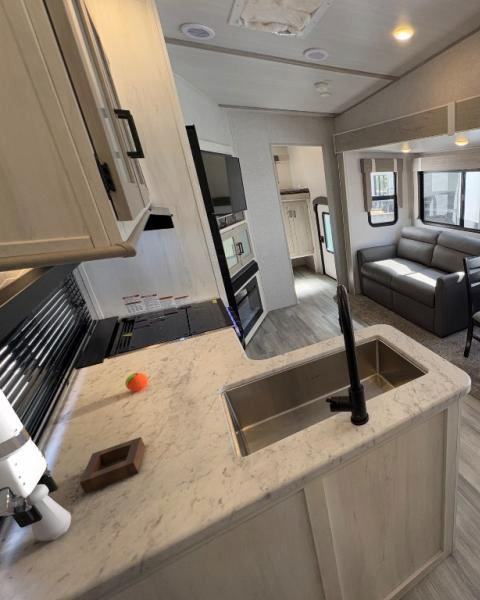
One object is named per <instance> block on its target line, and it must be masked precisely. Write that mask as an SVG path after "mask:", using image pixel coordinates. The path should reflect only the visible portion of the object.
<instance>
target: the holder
mask: <svg viewBox="0 0 480 600" xmlns="http://www.w3.org/2000/svg"><path fill="white" fill-rule="evenodd" d="M145 450H146V445H145V443H144V441H143V438H142V436H139V437H136V438H133V439H131V440H128V441H125V442H122V443H119V444H116V445H113V446H110V447H107V448H104V449H101V450H98V451H96V452H93V453H92V454H91V456H90V458H89V460H88V463H87V464H86V467H85V470H84V471H83V474H82V476H81V478H80V480H79V485H80V487H81V489H82V490H83V492H84V493H85V495H87V494H88V493H92V492H94V491H96V490H99V489H102V488H104V487H106V486H110V485H112V484H115V483H117V482H120V481H123V480H125V479H128V478H130V477H133V476H136V475H137V474H140V469H141V465H142V462H143V457H144V454H145ZM124 459H125V460H124ZM121 460H124V461H122V462H120V461H121ZM118 461H119V463H116V462H118ZM112 463H116V464H113V465H110V464H112ZM108 465H110V466H108ZM106 466H108V467H106Z"/></svg>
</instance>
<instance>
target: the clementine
mask: <svg viewBox="0 0 480 600" xmlns="http://www.w3.org/2000/svg"><path fill="white" fill-rule="evenodd" d="M124 384H125V385H124V386H125V387H126V388H127V390H129V391H131V392H138V391H141V390H144V389H145V388H146V387H147V385H148V384H149V377H148V376H147V375H146V374H144V373H143V372H136V373H132V374H130V375H128V377H127V378H126V379H125V382H124Z"/></svg>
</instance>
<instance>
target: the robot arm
mask: <svg viewBox="0 0 480 600" xmlns="http://www.w3.org/2000/svg"><path fill="white" fill-rule="evenodd" d="M51 474H52V473H51V470H50V469H48V462H47V459H46V454H45V453H43V452H42V451H41V450H40V449H39V448H38V446H37V445H36V444H35V442H34V441H33V440H32V437H31V436H30V434H29V432H28V430H26V428H25V426H24V424H23V423H22V422H21V420H20V418H19V416H18V414H17V413H16V411H15V410H14V408H13V407H12V404H11V403H10V401H9V400H8V398H7V396H6V394H4V392H3V391H2V389H1V388H0V517H5V518H7V517H8V518H13V520H14V521H15V523H16V524H17V526H18V527H19V528H20V529H22V528H25V527H28V526H31V524H33V523H36V522H38V521H40V520H42V518H43V516H42V515H41V513H40V512H39V510H38V509H37V507H36V506H35V505H32V506H31V501H30V495H29V494H30V493H31V492H32V491H33V489H34V488H35V486H36V485H40V484H42V485H45V486H47V488H48V490H49V492H48V494H47V495H49V494H52V493H54V492H57V490H58V489H59V486H58V485H57V483H56V481H55V480H54V478H53V476H52V475H51ZM20 495H21V496H20ZM13 496H17V497H14V498H13ZM21 499H22V500H23V505H21V506H20V505H17V506H16V503H17V502H18V500H21ZM15 502H16V503H15Z"/></svg>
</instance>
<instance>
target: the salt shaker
mask: <svg viewBox="0 0 480 600" xmlns="http://www.w3.org/2000/svg"><path fill="white" fill-rule="evenodd" d="M48 492H49V490H48V488H47V486H45V485H42V484H40V485H36V486H35V488H34V489H33V491H32V492H31V493H30V494H29V495H30V501H31V506H32V505H35V506H36V507H37V509H38V510H39V512H40V513H41V515H42V516H43V518H42V520H40V521H38V522H36V523H33V524H31V525H30V526H31V531H32V534H33V537H34V539H35V540H37V541H41V542H50V541H51V542H52V541H55V540H56V539H58V538H59V537H61V536H62V535H64V534H65V533H66V532H67V531H68V529H69V528H70V526H71V521H72V514H71V513H70V512H69V510H67V509H65V508H64V507H62V506H61V505H60V504H59V503H57V502H56V501H55V500H54V499H53V498H51V497H50V496H49V494H48ZM19 496H21V495H19ZM17 503H18V506H21V505H23V500H22V499H21V500H18V501H17Z"/></svg>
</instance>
